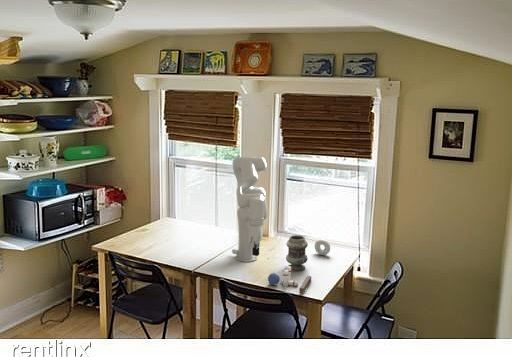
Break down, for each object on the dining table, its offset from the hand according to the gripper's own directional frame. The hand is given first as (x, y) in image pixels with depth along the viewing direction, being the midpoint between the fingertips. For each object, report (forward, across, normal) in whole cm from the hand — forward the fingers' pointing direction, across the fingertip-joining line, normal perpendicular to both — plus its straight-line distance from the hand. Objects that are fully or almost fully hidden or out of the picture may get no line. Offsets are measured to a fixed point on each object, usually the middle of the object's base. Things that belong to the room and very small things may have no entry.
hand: (255, 255), depth 256 cm
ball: (+10, +3, +11) cm, 15 cm away
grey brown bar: (+13, 0, +27) cm, 30 cm away
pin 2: (+13, -2, +17) cm, 22 cm away
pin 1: (+13, +3, +17) cm, 22 cm away
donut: (+14, -48, +25) cm, 56 cm away
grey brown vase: (+14, -23, +16) cm, 31 cm away
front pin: (+12, 0, +14) cm, 19 cm away
